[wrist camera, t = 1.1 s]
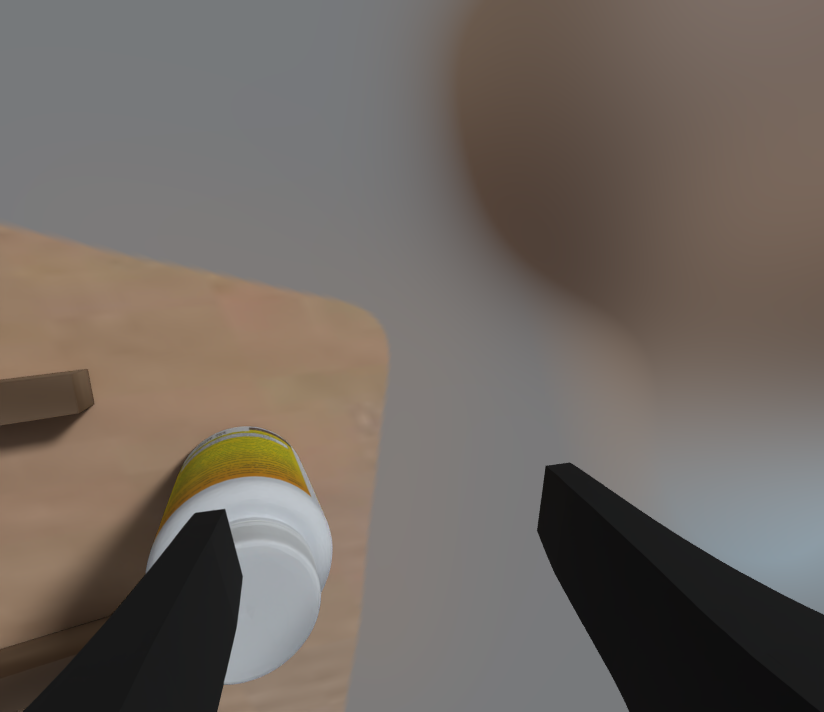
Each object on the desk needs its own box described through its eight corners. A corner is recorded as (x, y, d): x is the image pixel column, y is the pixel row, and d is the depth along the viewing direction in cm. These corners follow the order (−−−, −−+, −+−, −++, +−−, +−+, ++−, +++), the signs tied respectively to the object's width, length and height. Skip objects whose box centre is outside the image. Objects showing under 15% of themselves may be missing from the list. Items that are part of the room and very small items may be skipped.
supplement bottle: (152, 461, 20) (74, 596, 10) (270, 402, 21) (297, 471, 12) (213, 559, 21) (194, 761, 11) (320, 497, 22) (380, 627, 13)
